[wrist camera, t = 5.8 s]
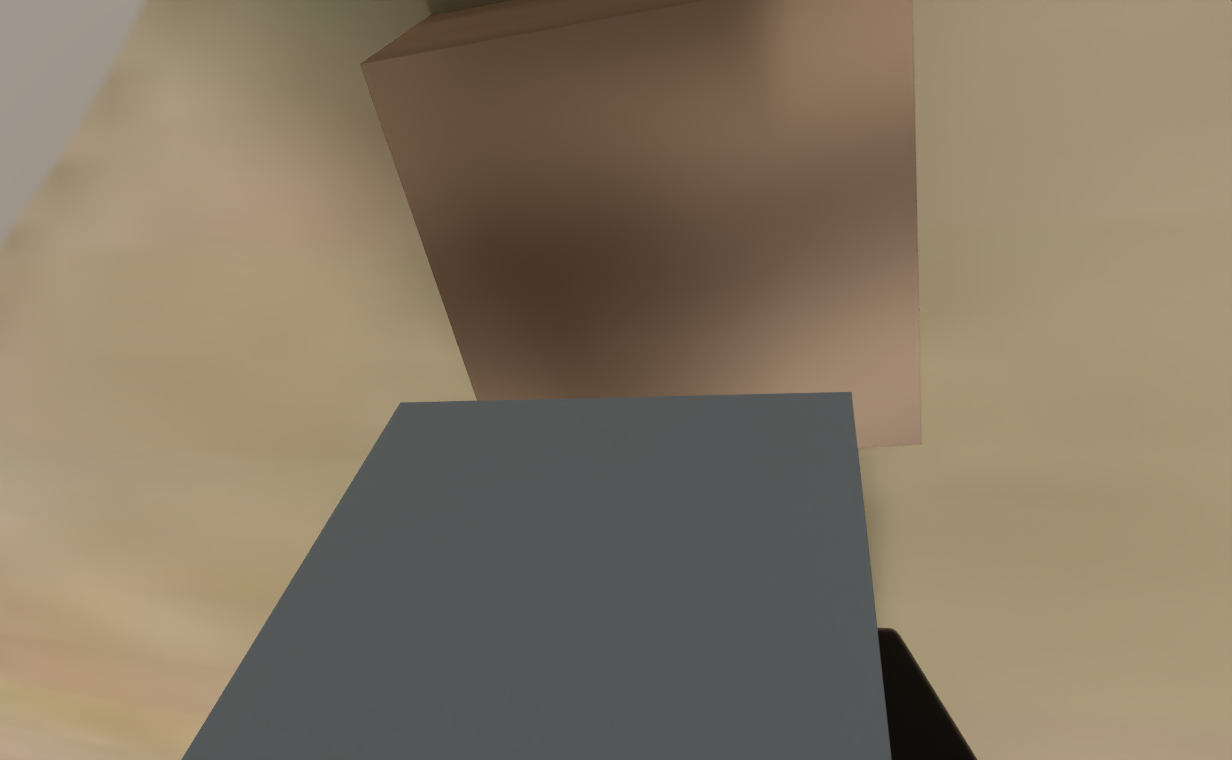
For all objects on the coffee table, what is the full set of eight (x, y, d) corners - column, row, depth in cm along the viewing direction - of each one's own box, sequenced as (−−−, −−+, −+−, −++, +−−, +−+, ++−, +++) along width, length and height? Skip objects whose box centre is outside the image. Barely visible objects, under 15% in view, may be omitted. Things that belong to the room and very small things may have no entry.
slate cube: (849, 700, 12) (882, 1187, 8) (493, 683, 13) (357, 1107, 9) (851, 391, 9) (904, 892, 5) (401, 402, 10) (140, 824, 6)
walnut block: (900, 339, 21) (922, 444, 18) (541, 371, 23) (501, 469, 20) (885, -77, 16) (911, -38, 13) (435, 12, 18) (359, 64, 15)
